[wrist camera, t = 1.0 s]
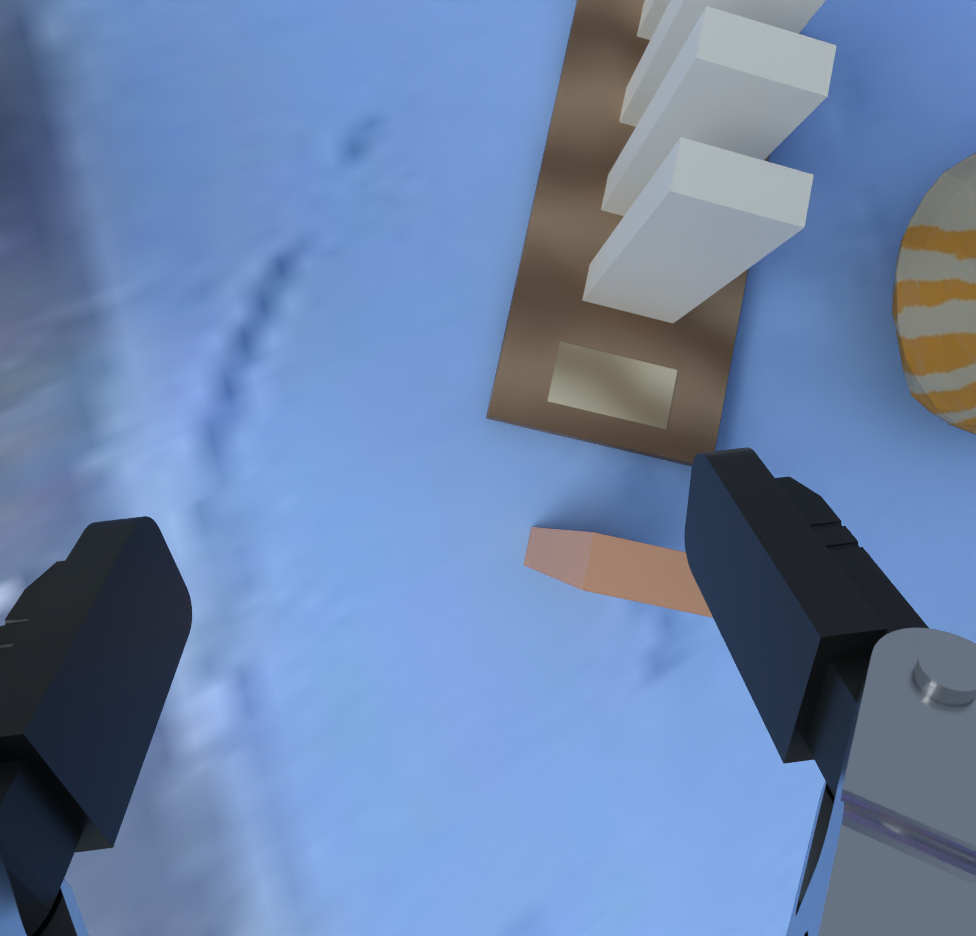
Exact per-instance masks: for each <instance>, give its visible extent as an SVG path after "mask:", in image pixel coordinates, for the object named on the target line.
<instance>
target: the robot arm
mask: <svg viewBox="0 0 976 936" xmlns="http://www.w3.org/2000/svg"><path fill="white" fill-rule="evenodd" d="M685 549H686V555H687V560H688V564H689V567H690V570H691V572H692V575H693V577H694V579H695V581H696V583H697V585H698V587H699V589H700V591H701V593H702V595H703V597H704V600H705V602H706V604H707V606H708V608H709V610H710V612H711V614H712V616H713V618H714V620H715V622H716V624H717V626H718V628H719V631H720V633H721V635H722V637H723V639H724V641H725V643H726V645H727V647H728V649H729V651H730V653H731V655H732V657H733V660H734V662H735V664H736V666H737V668H738V670H739V672H740V674H741V676H742V678H743V680H744V682H745V684H746V686H747V688H748V691H749V693H750V695H751V697H752V699H753V701H754V703H755V705H756V707H757V709H758V711H759V713H760V715H761V717H762V720H763V722H764V724H765V726H766V728H767V730H768V732H769V734H770V736H771V738H772V740H773V742H774V744H775V746H776V748H777V751H778V753H779V755H780V757H781V759H782V761H783V763H791V762H798V761H806V760H815V761H816V763H817V765H818V767H819V769H820V771H821V773H822V775H823V777H824V779H825V783H824V786H823V788H822V791H821V795H820V799H819V803H818V807H817V811H816V816H815V820H814V824H813V828H812V832H811V836H810V840H809V845H808V849H807V853H806V857H805V861H804V865H803V869H802V873H801V878H800V882H799V886H798V890H797V894H796V898H795V902H794V907H793V911H792V915H791V919H790V923H789V927H788V930H787V934H786V936H976V644H975V643H973V642H971V641H969V640H967V639H965V638H962V637H960V636H957V635H954V634H951V633H948V632H944V631H940V630H935V629H929V628H928V627H927V625H926V624H925V623H924V622H923V620H922V619H921V618H920V617H919V616H918V614H917V613H916V612H915V611H914V609H913V608H912V607H911V606H910V605H909V603H908V602H907V601H906V600H905V598H904V597H903V596H902V595H901V594H900V592H899V591H898V590H897V589H896V587H895V586H894V585H893V584H892V583H891V581H890V580H889V579H888V578H887V576H886V575H885V574H884V573H883V572H882V570H881V569H880V568H879V567H878V565H877V564H876V563H875V562H874V561H873V559H872V558H871V557H870V556H869V554H868V553H867V552H866V551H865V550H864V548H863V547H859V546H858V541H857V540H856V539H855V537H854V536H853V535H852V534H851V532H850V531H849V530H848V529H847V528H846V526H842V525H841V520H840V519H839V518H838V517H837V515H836V514H835V513H834V512H833V510H832V509H831V508H830V507H829V506H828V504H827V503H826V502H825V501H824V499H823V498H822V497H821V496H820V495H818V494H816V493H815V492H813V491H812V490H810V489H808V488H807V487H805V486H804V485H802V484H800V483H799V482H797V481H796V480H794V479H792V478H791V477H782V478H774V477H773V476H772V474H771V473H770V472H769V470H768V469H767V468H766V466H765V465H764V464H763V462H762V461H761V460H760V458H759V457H758V456H757V454H756V453H755V452H754V451H753V450H752V449H751V448H739V449H730V450H721V451H713V452H704V453H698V454H697V455H696V456H695V458H694V460H693V464H692V471H691V480H690V489H689V498H688V507H687V516H686V525H685ZM5 622H6V623H5V625H4V626H0V936H89V934H88V931H87V929H86V926H85V923H84V920H83V918H82V915H81V912H80V909H79V907H78V904H77V901H76V898H75V896H74V893H73V890H72V888H71V886H70V884H69V883H68V882H67V881H66V880H65V879H64V877H65V875H66V872H67V870H68V867H69V865H70V862H71V860H72V857H73V855H74V852H82V851H90V850H98V849H105V848H113V846H114V843H115V840H116V838H117V835H118V832H119V829H120V826H121V824H122V821H123V818H124V815H125V812H126V810H127V807H128V804H129V801H130V798H131V796H132V793H133V790H134V787H135V784H136V782H137V779H138V776H139V773H140V770H141V768H142V765H143V762H144V759H145V756H146V754H147V751H148V748H149V745H150V742H151V740H152V737H153V734H154V731H155V728H156V726H157V723H158V720H159V717H160V714H161V712H162V709H163V706H164V703H165V700H166V698H167V695H168V692H169V689H170V686H171V683H172V681H173V678H174V675H175V672H176V669H177V667H178V664H179V661H180V658H181V655H182V653H183V650H184V647H185V644H186V641H187V639H188V636H189V633H190V629H191V623H192V606H191V599H190V595H189V592H188V589H187V587H186V585H185V583H184V581H183V579H182V576H181V574H180V572H179V570H178V568H177V566H176V563H175V561H174V559H173V557H172V555H171V553H170V550H169V548H168V546H167V544H166V542H165V540H164V538H163V535H162V533H161V531H160V529H159V527H158V525H157V524H156V522H155V521H154V520H153V519H152V518H150V517H147V516H145V517H136V518H128V519H119V520H111V521H102V522H94V523H92V524H90V525H89V526H87V528H86V529H85V530H84V532H83V533H82V535H81V537H80V538H79V540H78V541H77V543H76V545H75V546H74V548H73V549H72V551H71V553H70V554H69V556H68V557H67V559H66V561H59V562H56V563H55V564H54V565H53V566H51V567H50V568H49V569H48V570H47V571H46V572H44V573H43V574H42V575H41V576H40V577H39V578H38V579H36V580H35V581H34V582H33V583H32V584H31V585H29V586H28V587H27V588H26V589H25V590H24V592H23V593H22V595H21V596H20V598H19V599H18V601H17V602H16V604H15V605H14V607H13V608H12V610H11V611H10V613H9V614H8V616H7V617H6V619H5Z"/></svg>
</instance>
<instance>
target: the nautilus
mask: <svg viewBox="0 0 976 936" xmlns="http://www.w3.org/2000/svg"><path fill="white" fill-rule="evenodd" d="M892 312H893V317H894V323H895V328H896V333H897V338H898V343H899V349H900V355H901V361H902V366H903V372H904V375H905V378H906V381H907V384H908V387H909V390H910V393H911V396H912V397H914V398H915V399H916V400H917V401H918V402H919V403H921V404H922V405H923V406H924V407H925V408H926V409H928V410H929V411H930V412H931V413H932V414H934V415H936V416H937V417H939V418H940V419H942V420H944V421H945V422H947V423H948V424H950V425H952V426H955V427H957V428H960V429H963V430H966V431H968V432H971V433H974V434H976V153H974V154H972V155H971V156H969V157H967V158H966V159H964V160H962V161H961V162H959V163H958V164H956V165H954V166H953V167H951V168H950V169H948V170H946V171H945V172H943V174H942V175H941V176H940V177H939V178H938V180H937V181H936V182H935V183H934V184H933V186H932V187H931V188H930V189H929V190H928V191H927V193H926V194H925V196H924V198H923V200H922V201H921V203H920V205H919V206H918V208H917V210H916V211H915V213H914V215H913V217H912V218H911V220H910V222H909V224H908V227H907V229H906V231H905V233H904V236H903V238H902V241H901V245H900V248H899V252H898V256H897V261H896V270H895V278H894V287H893V311H892Z"/></svg>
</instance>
